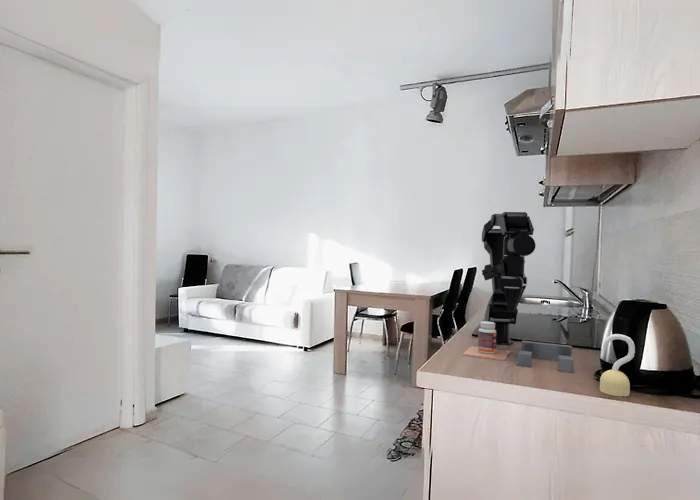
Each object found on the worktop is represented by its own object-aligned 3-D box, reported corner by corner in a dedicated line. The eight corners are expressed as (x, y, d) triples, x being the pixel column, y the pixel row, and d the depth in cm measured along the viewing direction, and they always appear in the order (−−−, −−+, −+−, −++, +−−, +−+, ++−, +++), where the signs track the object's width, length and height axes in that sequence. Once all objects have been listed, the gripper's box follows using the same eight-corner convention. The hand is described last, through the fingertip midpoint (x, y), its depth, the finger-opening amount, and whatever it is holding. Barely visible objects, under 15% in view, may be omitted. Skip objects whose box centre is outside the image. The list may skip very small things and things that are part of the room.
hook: (604, 394, 87) (605, 335, 87) (596, 387, 92) (597, 330, 92) (638, 398, 85) (639, 337, 85) (629, 390, 90) (630, 333, 90)
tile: (470, 347, 127) (470, 346, 127) (509, 352, 122) (509, 350, 122) (462, 355, 117) (462, 353, 117) (505, 360, 113) (505, 359, 113)
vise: (523, 351, 123) (523, 338, 124) (570, 357, 118) (571, 342, 118) (517, 365, 108) (518, 349, 108) (572, 372, 102) (572, 355, 102)
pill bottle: (496, 354, 117) (497, 324, 117) (478, 353, 118) (479, 323, 118) (494, 350, 122) (495, 321, 122) (477, 349, 123) (478, 320, 123)
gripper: (489, 255, 134) (488, 305, 134) (478, 255, 117) (477, 312, 117) (527, 256, 129) (526, 308, 129) (522, 256, 112) (521, 315, 112)
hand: (512, 310), depth 122 cm, fingers open, 9 cm apart
